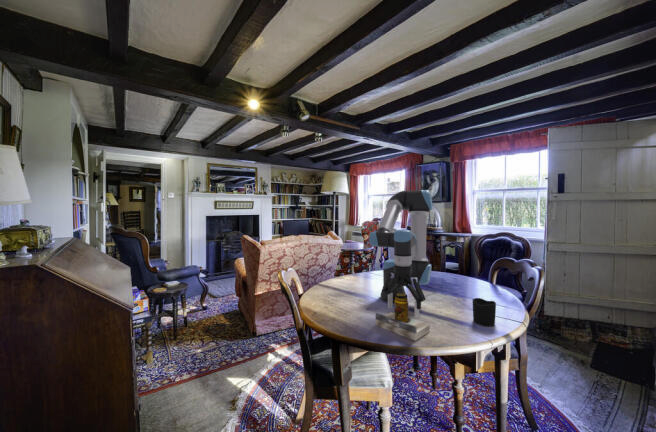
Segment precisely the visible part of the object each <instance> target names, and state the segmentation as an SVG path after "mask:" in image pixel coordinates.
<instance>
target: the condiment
mask: <svg viewBox="0 0 656 432" xmlns="http://www.w3.org/2000/svg"><path fill="white" fill-rule="evenodd" d="M408 299H409V298H408V294H407V293H406V294H404V293H397V294H396V295H395V303H394V313H395V315H394V319H396V320H398V321H401V322H404V323H407V324H410V319H411V318H412V317H411V316H409V315H410V313H409V301H408Z"/></svg>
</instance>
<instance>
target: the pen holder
mask: <svg viewBox="0 0 656 432" xmlns="http://www.w3.org/2000/svg"><path fill="white" fill-rule="evenodd" d="M496 308H497V302H496V301H494V300H486V299H483V298H480V297H475V298H472V318H473V319H472V320H473V322H474V323H475V324H477V325H479V326H483V327H493V326H495V324H496V312H497V311H496V310H497V309H496Z"/></svg>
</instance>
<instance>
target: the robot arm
mask: <svg viewBox="0 0 656 432" xmlns="http://www.w3.org/2000/svg"><path fill="white" fill-rule="evenodd" d="M433 207H434V206H433V198H432V193H431V191H430V190H428V189H424V190H423V189H417V190H414V189H413V190H401V191H398V192H396V193H395V194H393V195H392V196H391V197H390V198H389V199H388V201H387V202H386V205H385V208H386V209H385V211H384V214H383V216H382V217H381V220H380V222H379V225H378V228H377V229H376V231H371V232H370V233H369V236H368V242H369V245H370V246H371V247H376V248H394V250H393V252H394V253H393V259H392V258H391V259H387V260H384V262H383V266H382V267H383V268H382V273H383V275H382V279H383V280H382V281H383V282H382V283H383V285H382V289H381V291H380V299H381V300H382V301H384V302H385V303H386V302H387V309H391V308H393V305H394V304H395V295H396V294H397V293H404V294H407V293H406V290H405V288H407V289H408V291H409V292H410V293H411V296H412V297H413V298H414V299H415V301H413V302H414V304H413V305H414V307H413V308H414V318H417V317H419V316H420V310H421V308H422V302H424V301H426V297H425V295H424V294H425V293H424V292H423V289H422V287H421V285H424V286H425V285H428V284H429V283H430V279H431V275H432V264H431V263H429V262H430V261H429V259H428V258H427V224H428V223H427V221H428V219H427V216H428V215H429V214H430V213H431V212H430V211H433V209H434V208H433ZM402 211H408V213H409V215H410V216H411V217H410V220H411V221H410V230H409V229H396V230H394V227H395V226H396V222H397V219H398V218H399V214H400V213H402Z"/></svg>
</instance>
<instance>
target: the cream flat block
mask: <svg viewBox="0 0 656 432" xmlns="http://www.w3.org/2000/svg"><path fill="white" fill-rule="evenodd" d="M394 315H395V312H392V311H390V312H388V313H385V314H381V313H379V312H376V313H375V326H376V327H379V328H382V329H384V330H386V331H388V332H392V333H394V334H397V335H399V336H400V337H401V336H402V337H404V338H407V339H409V340H412V341H415V342H416V341H417V340H419V339H421V338H422V337H424V336H425V335H427V334H428V333H429V332H430V329H431V328H430V325H431V324H430V323H429V324H428V323H425V322H422V321H419V319H414V318H413V317H411V319H410V324H407V323H404V322H401V321H398V320H396V319H394Z"/></svg>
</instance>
